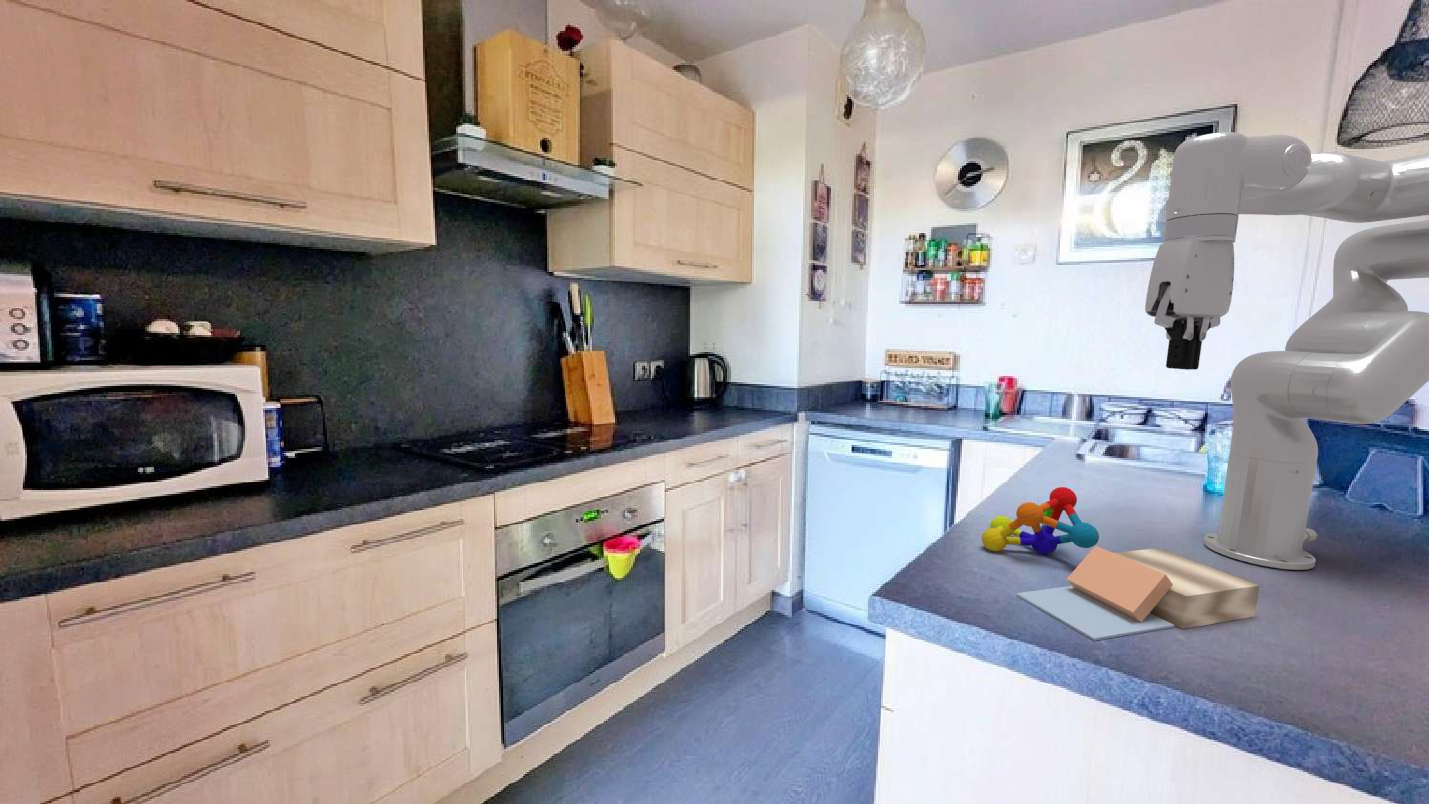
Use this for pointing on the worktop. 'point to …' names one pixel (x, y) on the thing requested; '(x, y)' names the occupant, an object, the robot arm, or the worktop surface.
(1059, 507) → the molecular model
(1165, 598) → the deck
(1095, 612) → the mat
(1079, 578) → the salmon pink brick
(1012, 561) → the worktop surface
